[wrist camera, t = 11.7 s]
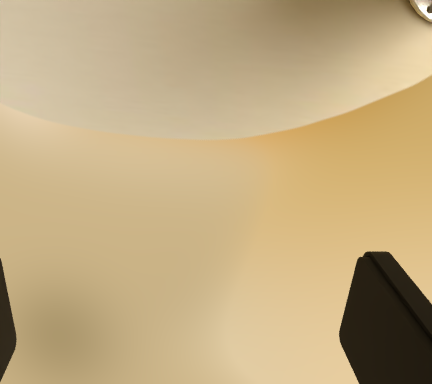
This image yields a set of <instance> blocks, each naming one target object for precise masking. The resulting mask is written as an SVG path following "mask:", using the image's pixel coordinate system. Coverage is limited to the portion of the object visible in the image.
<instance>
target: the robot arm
mask: <svg viewBox="0 0 432 384" xmlns="http://www.w3.org/2000/svg"><path fill="white" fill-rule="evenodd" d="M409 1H410V3H411V5H412V7H413V8H414V9H415V10H416V12H417V13H418V14H419V15H420V16H422V17H423V18H424V19H425V20H427V21H429V22H432V0H409ZM427 7H428V9H427V11H426V8H427ZM339 337H340V343H341V345H342V347H343V350H344V352H345V354H346V356H347V358H348V360H349V363H350V365H351V367H352V369H353V371H354V373H355V375H356V377H357V380H358V382H359V384H432V304H431V303H430V302H429V300H428V299H427V298H426V297H425V296H424V294H423V293H422V292H421V291H420V289H419V288H418V287H417V286H416V284H415V283H414V282H413V281H412V279H410V277H409V276H408V275H407V273H406V272H405V271H404V270H403V268H402V267H401V266H400V265H399V263H398V262H397V261H396V260H395V259H394V258H393V256H392V255H391V254H390V253H389V252H366V253H365V254H364V256H363V257H359V258H358V260H357V263H356V267H355V271H354V276H353V279H352V283H351V287H350V291H349V295H348V299H347V303H346V307H345V311H344V315H343V319H342V323H341V327H340V331H339ZM15 347H16V332H15V327H14V322H13V317H12V312H11V307H10V302H9V297H8V292H7V287H6V282H5V278H4V272H3V267H2V262H1V259H0V381H1V379H2V377H3V374H4V373H5V370H6V368H7V366H8V364H9V361H10V359H11V357H12V355H13V353H14V350H15Z"/></svg>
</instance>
